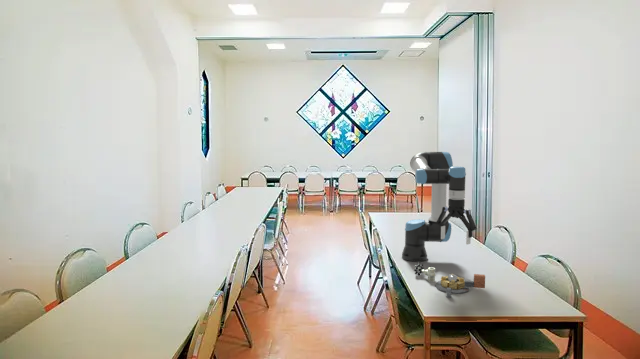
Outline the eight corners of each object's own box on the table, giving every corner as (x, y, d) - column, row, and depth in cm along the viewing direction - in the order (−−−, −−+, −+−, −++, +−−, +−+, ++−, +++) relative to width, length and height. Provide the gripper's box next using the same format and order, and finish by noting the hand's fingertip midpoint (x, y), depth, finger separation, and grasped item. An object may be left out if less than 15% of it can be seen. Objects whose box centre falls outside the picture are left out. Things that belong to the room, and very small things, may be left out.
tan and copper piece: (441, 287, 207) (441, 276, 206) (440, 280, 218) (440, 268, 217) (485, 291, 202) (486, 279, 201) (483, 283, 213) (483, 271, 212)
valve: (438, 280, 221) (422, 273, 232) (439, 268, 221) (423, 262, 231) (429, 282, 218) (413, 275, 229) (429, 270, 217) (413, 264, 228)
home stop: (446, 295, 201) (447, 287, 201) (451, 296, 201) (451, 288, 200) (446, 297, 200) (446, 288, 199) (450, 297, 199) (450, 289, 198)
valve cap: (435, 280, 221) (435, 269, 220) (467, 283, 217) (468, 271, 216) (435, 292, 206) (436, 280, 205) (470, 295, 202) (471, 282, 201)
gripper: (429, 196, 212) (428, 238, 215) (477, 202, 194) (475, 247, 197) (437, 195, 217) (436, 235, 220) (485, 200, 199) (483, 244, 202)
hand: (455, 241), depth 208 cm, fingers open, 13 cm apart
